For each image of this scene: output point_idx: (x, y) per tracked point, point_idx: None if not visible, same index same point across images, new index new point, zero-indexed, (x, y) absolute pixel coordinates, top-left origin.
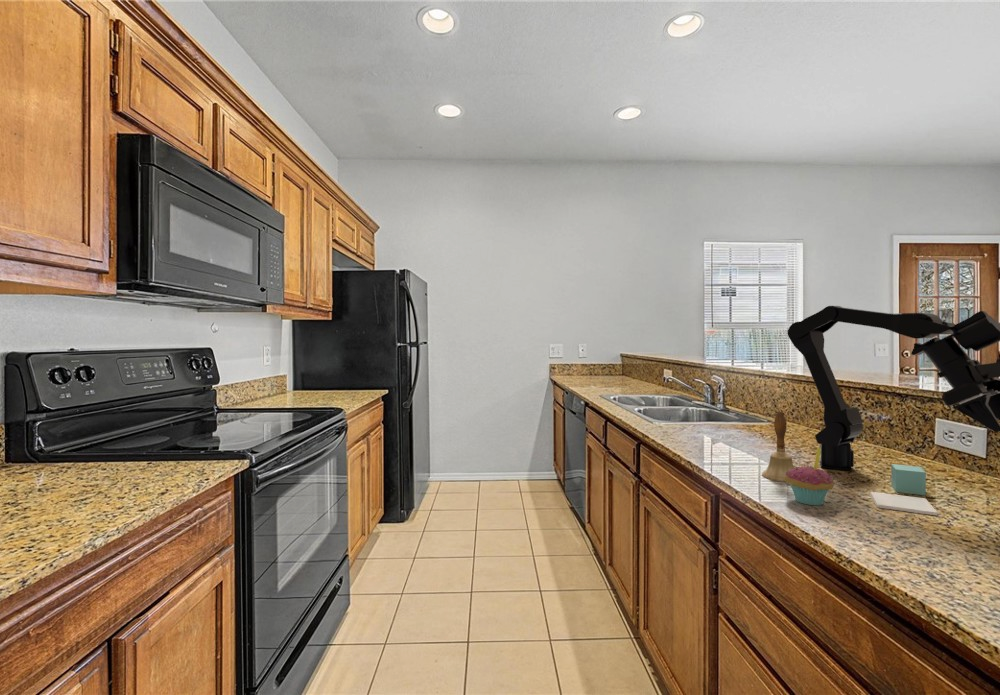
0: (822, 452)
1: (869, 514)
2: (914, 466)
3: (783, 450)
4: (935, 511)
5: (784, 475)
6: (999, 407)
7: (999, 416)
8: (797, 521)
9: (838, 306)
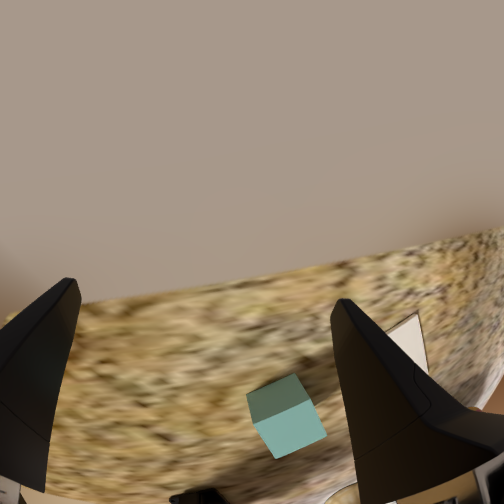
0: None
1: (455, 362)
2: (260, 431)
3: None
4: (414, 318)
5: None
6: (21, 392)
7: (58, 366)
8: (498, 377)
9: None
